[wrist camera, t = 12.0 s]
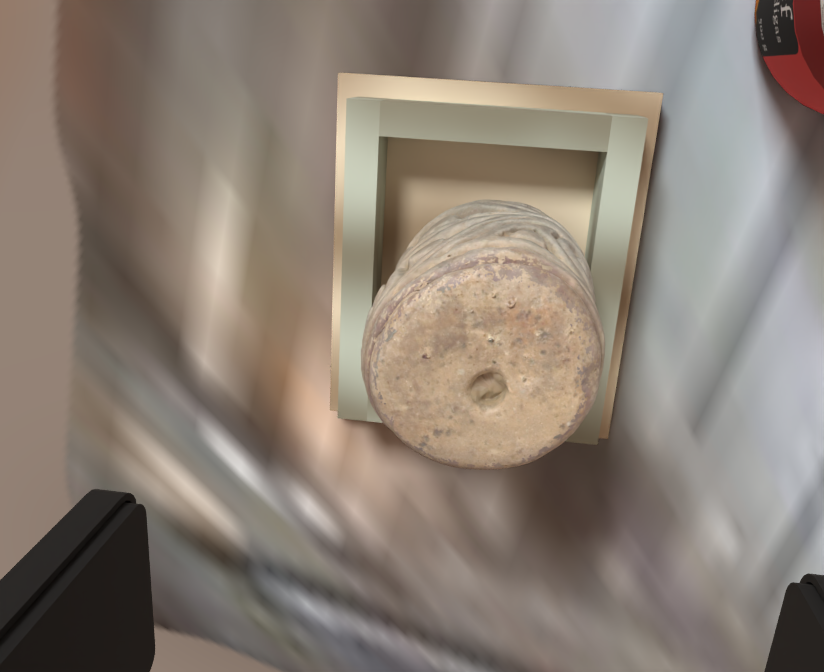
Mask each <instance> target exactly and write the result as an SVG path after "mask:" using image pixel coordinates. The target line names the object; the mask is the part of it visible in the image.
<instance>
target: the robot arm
mask: <svg viewBox="0 0 824 672" xmlns="http://www.w3.org/2000/svg"><path fill="white" fill-rule="evenodd" d="M154 655H155V639H154V622H153V607H152V592H151V577H150V562H149V547H148V532H147V517H146V509H145V507H144V506H143V505H142V504H136V499H135V497H134V495H132V494H131V493H125V492H116V491H108V490H99V489H94V490H91V491H90V492H89V493H87V494H86V495H85V496H84V497H83V498H82V499H81V500H80V501H79V502H78V503H77V504H76V505H75V506H74V507H73V508H72V509H71V510H70V511H69V512H68V513H67V514H66V515H65V516H64V517H63V518H62V519H61V520H60V521H59V522H58V523H57V524H56V525H55V526H54V527H53V528H52V529H51V530H50V531H49V532H48V533H47V534H46V535H45V536H44V537H43V538H42V539H41V540H40V542H38V543H37V544H36V545H35V546H34V547H33V548H32V549H31V550H30V551H29V552H28V553H27V554H26V555H25V556H24V557H23V558H22V559H21V560H20V561H19V562H18V563H17V564H16V565H15V566H14V567H13V568H12V569H11V570H10V571H9V572H8V573H7V574H6V575H5V576H4V577H3V578H2V579H1V580H0V672H150V669H151V667H152V664H153V660H154ZM765 672H824V575H816V574H806V575H804V576H803V578H802V579H801V581H800V583H790V584H789V586H788V587H787V590H786V593H785V597H784V600H783V604H782V608H781V612H780V615H779V619H778V623H777V627H776V630H775V634H774V638H773V642H772V646H771V649H770V653H769V657H768V661H767V664H766V668H765Z"/></svg>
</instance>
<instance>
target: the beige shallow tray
mask: <svg viewBox="0 0 824 672" xmlns="http://www.w3.org/2000/svg"><path fill="white" fill-rule="evenodd" d="M662 98H663V93H657V92H641V91H625V90H609V89H593V88H577V87H561V86H545V85H529V84H513V83H498V82H482V81H466V80H450V79H434V78H418V77H402V76H386V75H370V74H354V73H338V97H337V139H336V180H335V222H334V263H333V305H332V347H331V388H330V410H331V411H338V418H341V419H351V420H360V421H370V422H380V423H383V422H382V421H381V419H380V418H379V416H378V415H377V414H376V412H375V410H374V409H373V407H372V405H371V403H370V400H369V398H368V395H367V392H366V388H365V384H364V381H363V378H362V372H361V348H362V339H363V333H364V329H365V323H366V319H367V315H368V312H369V310H370V308H371V307H372V306H373V303H374V300H375V297H376V295H377V293H378V291H379V289H380V288H381V287H382V286H383V285H386V284H387V282H388V280H389V278H390V276H391V275H392V274H393V273H394V272H395V269H396V266H397V264H398V261H399V260H400V258H401V256H402V255H403V253H404V252H405V251H406V249H407V247H408V245H409V244H410V242H411V241H412V240H413V238H414V237H415V236H416V235H417V234H418V232H419V231H420V230H421V229H422V228H423V227H424V226H425V225H426V224H428V223H429V222H430V221H432V220H433V219H434V218H436V217H437V216H438V215H440V214H441V213H443V212H445V211H447V210H449V209H451V208H453V207H456V206H459V205H462V204H465V203H469V202H472V201H477V200H502V201H512V202H520V203H524V204H528V205H530V206H533V207H535V208H537V209H539V210H541V211H542V212H544V213H545V214H546V215H548V216H549V217H551V218H552V219H554V220H556V221H557V222H559V223H560V224H561V225H562V226H563V227H564V228H565V229H566V230H567V231H568V232H569V233H570V234H571V236H572V237H573V238H574V239H575V241H576V242H577V244H578V245H579V247H580V248H581V250H582V252H583V254H584V256H585V258H586V261H587V263H588V266H589V268H590V272H591V276H592V279H593V286H594V294H595V304H596V307H597V310H598V313H599V316H600V320H601V323H602V326H603V330H604V335H605V356H604V365H603V371H602V375H601V379H600V383H599V389H598V393H597V396H596V399H595V402H594V404H593V406H592V408H591V410H590V411H589V413H588V414H587V416H586V417H585V419H584V420H583V422H582V423H581V424H580V426H579V427H578V428H577V430H576V431H575V432H574V433H573V434H572V435H571V436H569V437H568V439H567V440H566V441H564V442H573V443H583V444H592V445H598V439H599V438H604V439H608V435H609V428H610V422H611V416H612V410H613V403H614V397H615V391H616V385H617V378H618V372H619V366H620V360H621V353H622V347H623V341H624V335H625V329H626V322H627V316H628V310H629V304H630V297H631V291H632V285H633V279H634V272H635V266H636V260H637V254H638V247H639V241H640V235H641V229H642V222H643V216H644V210H645V204H646V197H647V191H648V185H649V179H650V173H651V166H652V160H653V154H654V148H655V141H656V135H657V129H658V123H659V116H660V110H661V104H662Z"/></svg>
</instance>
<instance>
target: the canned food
mask: <svg viewBox="0 0 824 672" xmlns="http://www.w3.org/2000/svg"><path fill="white" fill-rule="evenodd" d="M755 24H756V35H757V39H758V43H759V46H760V49H761V53H762V56H763V59H764V61H765V62H766V64H767V66H768V68H769V70H770V72H771V74H772V76H773V77H774V78H775V79H776V81H777V82H778V83H779V84H780V85H781V86H782V88H783V89H784V90H785V91H786V92H787V93H788V94H789V95H791V96H792V97H793V98H795V99H796V100H797V101H798V102H800V103H801V104H802V105H804V106H806V107H808V108H811V109H813V110H815V111H817V112H819V113H821V114H824V0H756V6H755Z"/></svg>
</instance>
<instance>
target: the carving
mask: <svg viewBox="0 0 824 672" xmlns="http://www.w3.org/2000/svg"><path fill="white" fill-rule="evenodd" d="M604 356H605V335H604V330H603V326H602V323H601V320H600V316H599V313H598V310H597V307H596V304H595V294H594V286H593V279H592V276H591V272H590V268H589V266H588V263H587V261H586V258H585V256H584V254H583V252H582V250H581V248H580V247H579V245H578V244H577V242H576V241H575V239H574V238H573V237H572V236H571V234H570V233H569V232H568V231H567V230H566V229H565V228H564V227H563V226H562V225H561V224H560V223H559V222H557V221H556V220H554V219H552V218H551V217H549V216H548V215H546V214H545V213H544V212H542V211H541V210H539V209H537V208H535V207H533V206H530V205H528V204H524V203H520V202H512V201H502V200H477V201H472V202H469V203H465V204H462V205H459V206H456V207H453V208H451V209H449V210H447V211H445V212H443V213H441V214H440V215H438V216H437V217H436V218H434V219H433V220H432V221H430V222H429V223H428V224H426V225H425V226H424V227H423V228H422V229H421V230H420V231H419V232H418V234H417V235H416V236H415V237H414V238H413V240H412V241H411V242H410V244H409V245H408V247H407V249H406V251H405V252H404V253H403V255H402V256H401V258H400V260H399V261H398V264H397V266H396V269H395V272H394V273H393V274H392V275H391V276H390V278H389V280H388V282H387V284H386V285H383V286H382V287H381V288H380V289H379V291H378V293H377V295H376V297H375V300H374V303H373V306H372V307H371V308H370V310H369V312H368V315H367V319H366V323H365V329H364V333H363V339H362V348H361V372H362V378H363V381H364V384H365V388H366V392H367V395H368V398H369V400H370V403H371V405H372V407H373V409H374V410H375V412H376V414H377V415H378V416H379V418H380V419H381V421H382V422H383V423H384V424H385V425H386V426H387V427H388V428H389V429H390V430H392V431H393V432H394V434H395V435H396V436H397V437H398V438H399V439H400V440H401V441H402V442H403V443H404V444H406V445H407V446H408V447H410V448H411V449H413V450H414V451H416V452H417V453H419V454H421V455H423V456H424V457H427V458H429V459H431V460H434V461H436V462H439V463H442V464H445V465H448V466H453V467H458V468H466V469H480V470H486V469H503V468H510V467H516V466H520V465H525V464H528V463H530V462H533V461H535V460H537V459H539V458H540V457H542V456H544V455H545V454H547V453H549V452H550V451H552V450H553V449H555V448H556V447H558V446H559V445H561V444H562V443H563V442H564V441H566V440H567V439H568V437H569V436H571V435H572V434H573V433H574V432H575V431H576V430H577V428H578V427H579V426H580V424H581V423H582V422H583V420H584V419H585V417H586V416H587V414H588V413H589V411H590V410H591V408H592V406H593V404H594V402H595V399H596V396H597V393H598V389H599V383H600V379H601V375H602V371H603V365H604Z"/></svg>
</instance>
